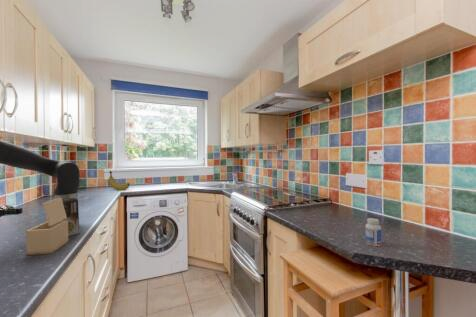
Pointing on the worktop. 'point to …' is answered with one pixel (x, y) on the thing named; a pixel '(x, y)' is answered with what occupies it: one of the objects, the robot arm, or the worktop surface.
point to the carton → (46, 238)
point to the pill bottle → (373, 232)
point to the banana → (115, 184)
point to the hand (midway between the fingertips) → (20, 211)
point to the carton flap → (54, 211)
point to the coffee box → (72, 215)
